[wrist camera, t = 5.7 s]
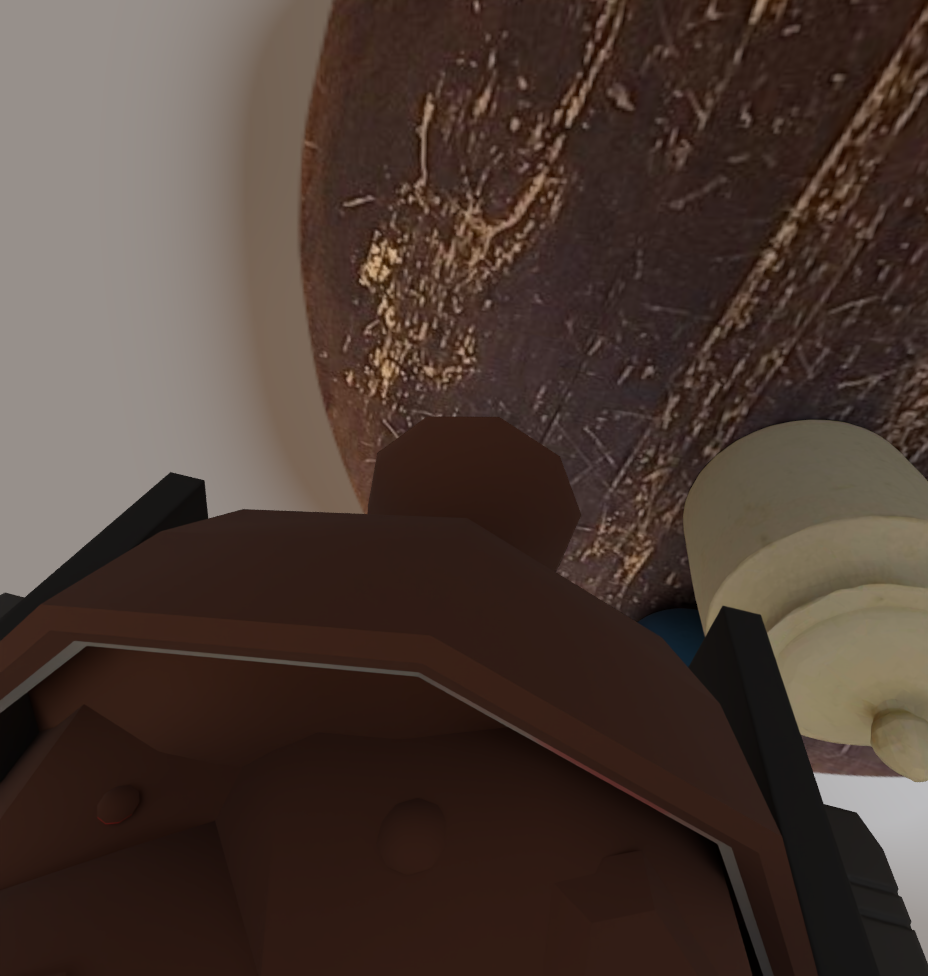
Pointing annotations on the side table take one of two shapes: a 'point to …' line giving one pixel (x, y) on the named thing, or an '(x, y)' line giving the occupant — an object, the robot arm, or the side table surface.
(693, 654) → the christmas ornament
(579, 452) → the side table surface
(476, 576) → the ice cream bowl
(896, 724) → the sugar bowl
